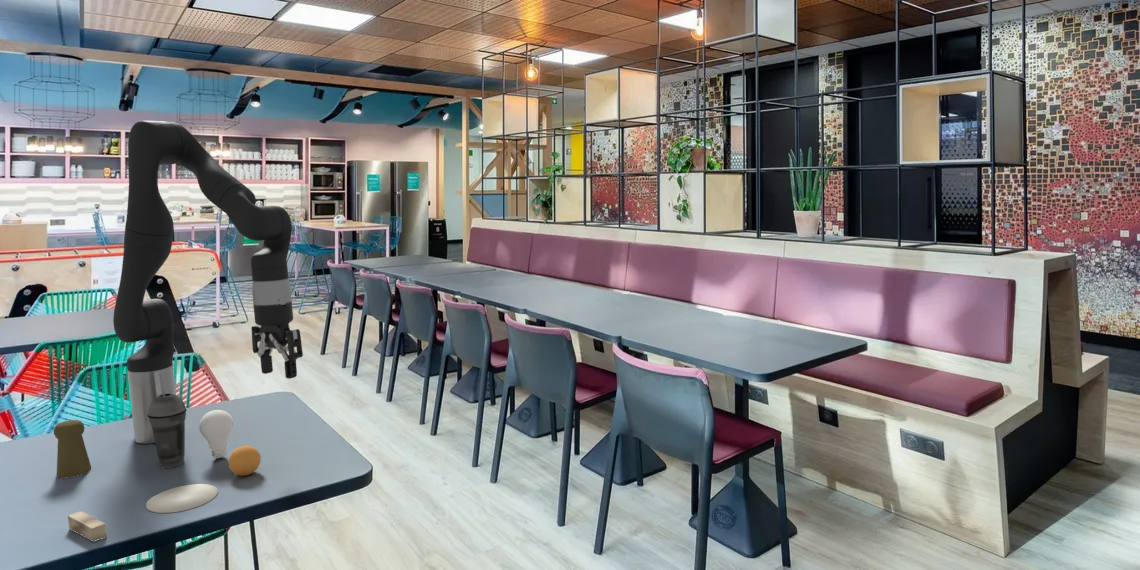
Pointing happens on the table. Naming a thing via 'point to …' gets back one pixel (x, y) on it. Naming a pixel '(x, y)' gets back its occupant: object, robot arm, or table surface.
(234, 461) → the ball
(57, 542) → the table surface
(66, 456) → the cork
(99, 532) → the rail
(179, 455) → the beverage cup
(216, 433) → the light bulb
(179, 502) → the plate
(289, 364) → the robot arm
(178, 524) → the table surface
